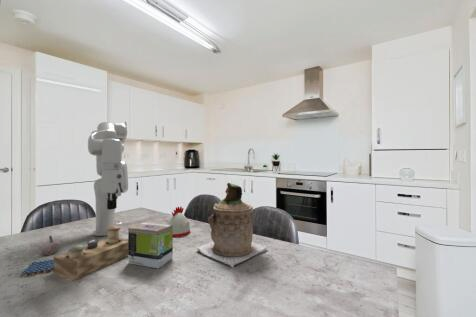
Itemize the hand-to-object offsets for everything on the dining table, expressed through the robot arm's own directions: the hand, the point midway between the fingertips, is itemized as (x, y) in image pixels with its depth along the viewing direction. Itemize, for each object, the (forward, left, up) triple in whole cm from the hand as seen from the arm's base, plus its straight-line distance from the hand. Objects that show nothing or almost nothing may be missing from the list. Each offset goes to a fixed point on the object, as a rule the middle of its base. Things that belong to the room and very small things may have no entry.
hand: (111, 208), depth 96 cm
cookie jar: (-28, +45, -21) cm, 57 cm away
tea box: (-4, +19, -21) cm, 29 cm away
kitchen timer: (-36, +5, -21) cm, 42 cm away
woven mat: (+19, -14, -22) cm, 32 cm away
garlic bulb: (+10, -29, -21) cm, 37 cm away
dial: (+7, -2, -15) cm, 16 cm away
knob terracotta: (-1, 0, -16) cm, 16 cm away
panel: (+7, 0, -21) cm, 22 cm away
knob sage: (+14, 0, -20) cm, 24 cm away
